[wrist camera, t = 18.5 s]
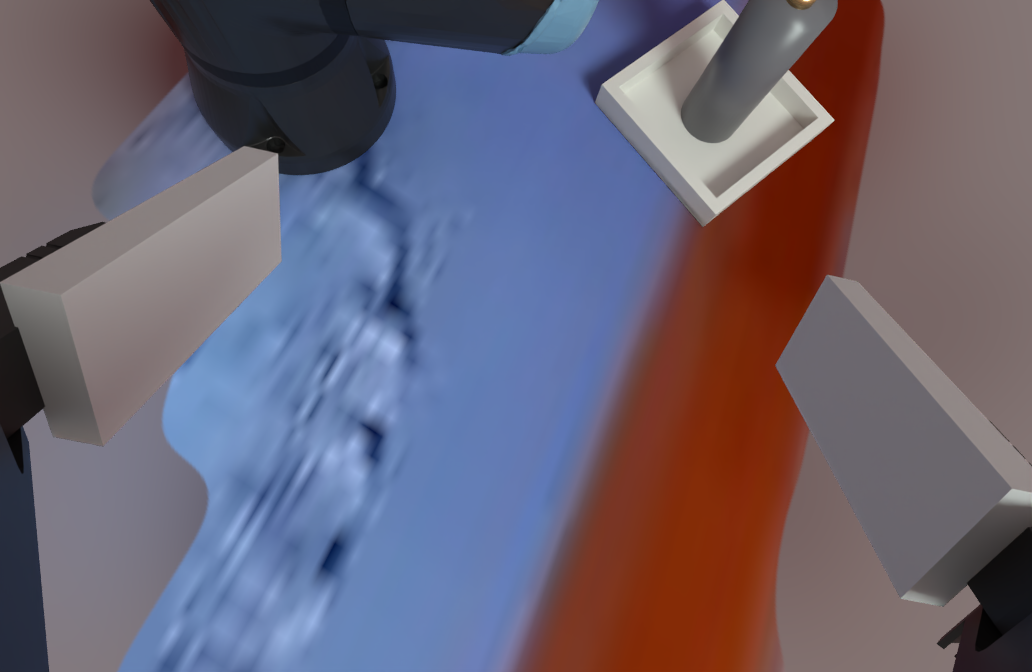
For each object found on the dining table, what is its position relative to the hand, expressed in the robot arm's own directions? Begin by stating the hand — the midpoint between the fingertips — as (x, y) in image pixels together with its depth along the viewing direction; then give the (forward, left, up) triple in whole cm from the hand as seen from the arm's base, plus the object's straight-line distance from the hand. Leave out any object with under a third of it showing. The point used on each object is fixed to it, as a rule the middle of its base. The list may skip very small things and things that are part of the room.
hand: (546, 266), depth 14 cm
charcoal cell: (-7, +29, -29) cm, 42 cm away
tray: (-7, +29, -30) cm, 42 cm away
